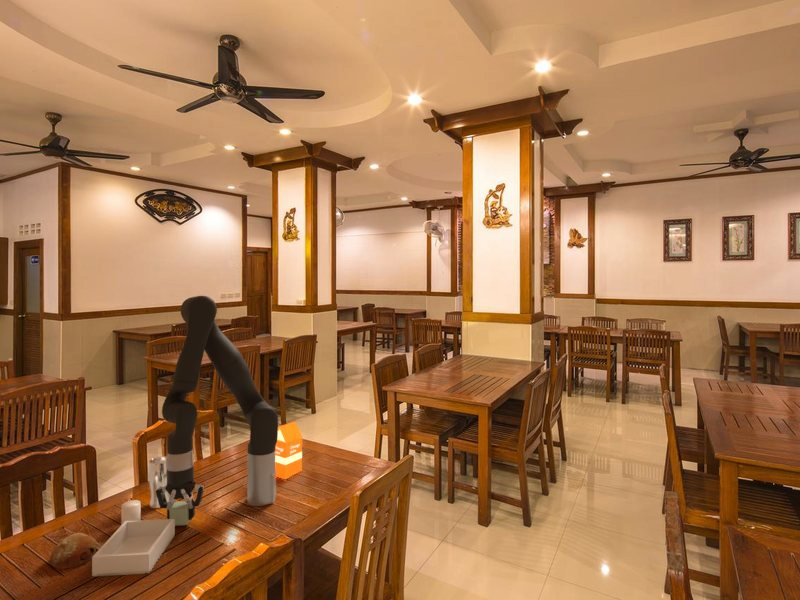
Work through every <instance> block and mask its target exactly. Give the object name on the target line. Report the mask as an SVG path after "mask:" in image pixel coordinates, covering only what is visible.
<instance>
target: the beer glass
mask: <svg viewBox="0 0 800 600" xmlns="http://www.w3.org/2000/svg"><path fill="white" fill-rule="evenodd" d="M166 463H167V455H164V456H157V457H154V458H151V459H150V460H149V461H148V471H147V473H148V475H147V476H148V477H147V478H148V484H149V489H150V501H149V507H150V508H151V509H161V508H160V505H159V502H158V498H157V495H156V490H157V489H158V488H159V487H160V486H162V487H164V486H166V485H167V467H166ZM165 497H166V500H167V502H168V501H169V498H170V494H169V493H168V492H167V491H166V492H165Z"/></svg>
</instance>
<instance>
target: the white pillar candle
mask: <svg viewBox="0 0 800 600" xmlns="http://www.w3.org/2000/svg"><path fill="white" fill-rule="evenodd" d="M141 503H142V502H141V501H140V500H138V499H134V500H128V501H126V502H124V503H122V504H121V506H120V507H121V512H120V513H121V516H120V518H121V525H122V524H123V523H124V522H125V521H135V520H142V519H141V515H142V514H141V513H142V512H141V511H142V510H141V508H142V507H141V505H142V504H141ZM121 525H120V526H121Z"/></svg>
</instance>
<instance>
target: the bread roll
mask: <svg viewBox="0 0 800 600" xmlns="http://www.w3.org/2000/svg"><path fill="white" fill-rule="evenodd" d="M98 546H100V543H98V542H97V540H95V538H94V537H92V536H90V535H88V534H86V533H83V532H77V533H72V534H70V535H68V536H67V537H65V538H63V539H62V540H61V541H60V542H58V543H57V545H56V546H55V547H54V548H53V549H52V552H51V555H50V558H49V559H50V564H51V566H52V567H54V568H55V569H58V570H59V569H60V570H62V569H70V568H74V567H78V566H81V565H83V564H86V563H87V562H90V561H92V557H93V556H94V555H95V553H96V552H97V551H98V550H99V549H97V547H98Z"/></svg>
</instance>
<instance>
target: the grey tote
mask: <svg viewBox="0 0 800 600" xmlns="http://www.w3.org/2000/svg"><path fill="white" fill-rule="evenodd" d="M175 527H176V526H175V519H167V518H165V519H164V518H163V519H162V518H161V519H160V518H159V519H141V520H135V521H125V522H124V523H123V524H122V525H120V526H119V527H118V528H117V529H116V531H115V532H114V533H113V534H112V535H111V536H110V537H109V538H108V539H107V540H106V542H105V543H104V544H103V545H102V546H101V547H100V548H99V549H97V550H98V551H97V552H96V553H95V555H94V556H93V557H92V559H91V567H92V568H91V573H92V574H91V577H109V576H124V575H125V576H126V575H127V576H128V575H144V574H145V573H147V574H150V573H151V572H152V570H153V569H152V568H154V567H155V566H156V564H157V563H158V562H159V560H160V559H161V557H162V555H163V554H164V552H165V551H166V549H167V548H168V546H169V545H170V543H171V542H172V540H173V539H174V537H175V536H176V534H175V533H176V531H175V530H176V528H175ZM162 553H163V554H162ZM160 556H161V557H160ZM158 559H159V560H158ZM156 562H157V563H156ZM154 565H155V566H154ZM150 571H151V572H150Z"/></svg>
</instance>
